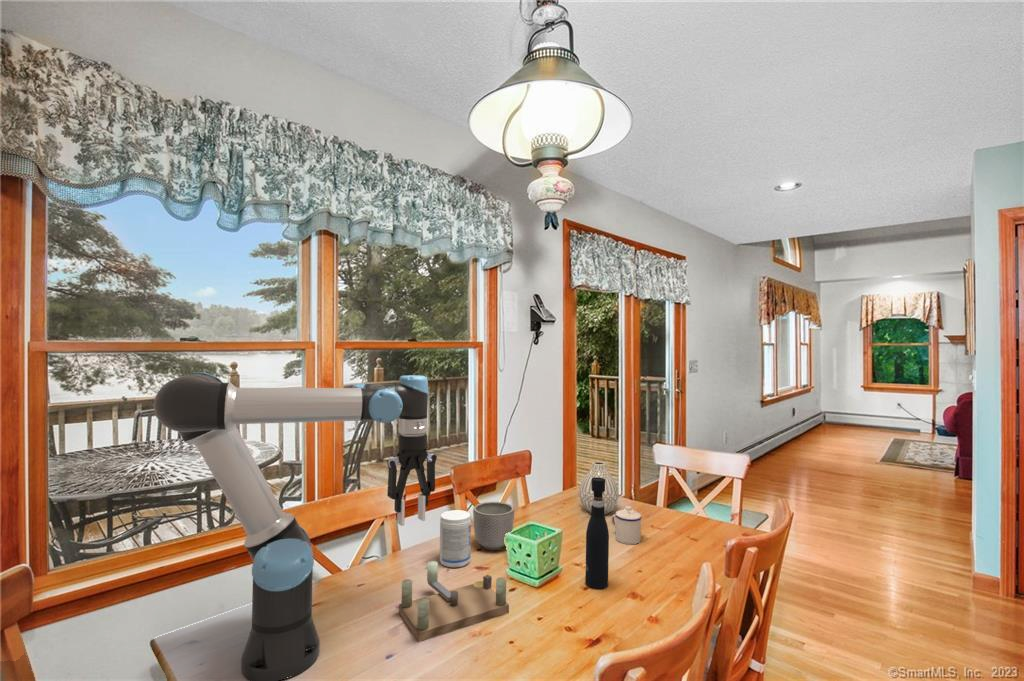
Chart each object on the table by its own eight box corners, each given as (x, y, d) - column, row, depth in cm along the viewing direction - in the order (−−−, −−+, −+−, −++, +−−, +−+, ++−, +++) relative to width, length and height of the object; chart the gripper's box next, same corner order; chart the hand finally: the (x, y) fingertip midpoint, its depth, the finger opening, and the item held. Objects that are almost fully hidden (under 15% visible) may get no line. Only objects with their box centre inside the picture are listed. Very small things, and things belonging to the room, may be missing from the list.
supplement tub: (475, 564, 150) (476, 516, 150) (448, 571, 145) (448, 522, 145) (461, 552, 158) (462, 507, 159) (434, 559, 153) (435, 512, 153)
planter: (521, 549, 162) (522, 510, 162) (486, 559, 154) (486, 518, 154) (499, 535, 173) (499, 499, 173) (465, 543, 165) (465, 505, 166)
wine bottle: (612, 584, 139) (614, 479, 140) (600, 592, 135) (601, 483, 135) (593, 576, 144) (595, 474, 144) (580, 584, 139) (582, 478, 139)
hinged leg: (456, 598, 125) (456, 577, 125) (446, 602, 123) (446, 580, 123) (434, 580, 135) (434, 560, 135) (425, 583, 133) (425, 562, 133)
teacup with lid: (646, 541, 170) (647, 507, 171) (630, 547, 165) (630, 513, 165) (619, 530, 180) (620, 498, 180) (603, 536, 174) (603, 503, 174)
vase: (578, 516, 194) (579, 466, 194) (579, 503, 210) (580, 457, 210) (619, 519, 191) (619, 468, 191) (617, 506, 207) (617, 459, 207)
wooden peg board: (419, 641, 111) (419, 606, 111) (398, 611, 123) (398, 579, 123) (510, 612, 124) (510, 580, 124) (483, 587, 136) (483, 558, 136)
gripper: (385, 439, 120) (384, 533, 120) (450, 432, 132) (448, 518, 131) (374, 435, 126) (372, 524, 126) (436, 428, 138) (434, 510, 137)
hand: (411, 521), depth 129 cm, fingers open, 5 cm apart
